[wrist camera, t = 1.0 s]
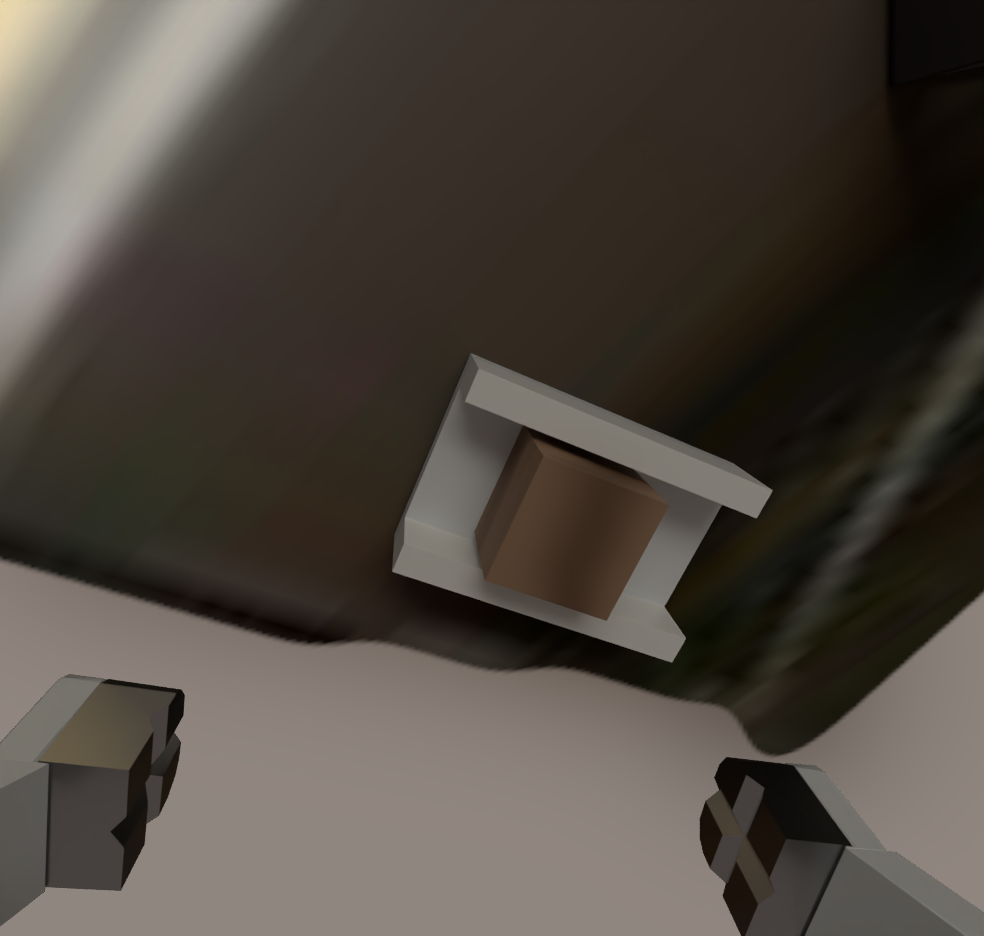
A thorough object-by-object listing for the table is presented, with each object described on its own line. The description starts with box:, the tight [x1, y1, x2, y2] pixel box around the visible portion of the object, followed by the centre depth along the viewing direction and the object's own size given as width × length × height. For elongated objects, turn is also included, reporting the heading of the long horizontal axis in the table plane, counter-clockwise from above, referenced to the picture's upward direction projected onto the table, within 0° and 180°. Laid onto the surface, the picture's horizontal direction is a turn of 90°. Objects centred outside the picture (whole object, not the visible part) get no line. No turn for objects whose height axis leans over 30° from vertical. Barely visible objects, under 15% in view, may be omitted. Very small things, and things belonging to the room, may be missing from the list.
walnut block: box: [474, 425, 669, 621], centre depth 30 cm, size 6×6×5 cm
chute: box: [392, 354, 772, 662], centre depth 32 cm, size 15×10×4 cm, turn 66°
